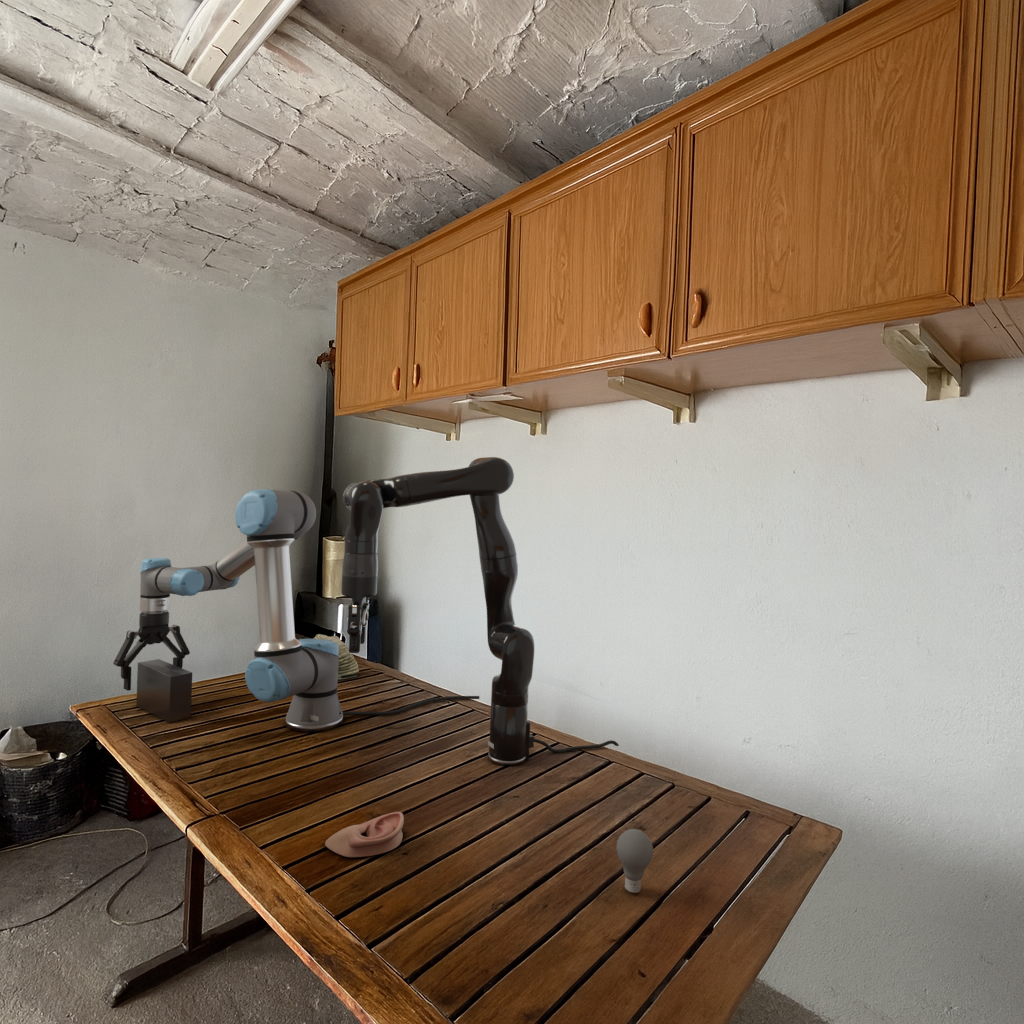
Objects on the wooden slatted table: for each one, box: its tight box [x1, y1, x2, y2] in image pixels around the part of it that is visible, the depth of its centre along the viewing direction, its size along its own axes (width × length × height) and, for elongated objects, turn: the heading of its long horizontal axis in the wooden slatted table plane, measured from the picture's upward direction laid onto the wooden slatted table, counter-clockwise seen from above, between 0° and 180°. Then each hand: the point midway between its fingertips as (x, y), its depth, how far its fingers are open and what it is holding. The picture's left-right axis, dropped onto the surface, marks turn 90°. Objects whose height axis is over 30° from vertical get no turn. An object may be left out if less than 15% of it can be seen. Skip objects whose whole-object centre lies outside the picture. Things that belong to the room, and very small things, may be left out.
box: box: [135, 658, 193, 724], centre depth 180 cm, size 20×6×13 cm, turn 53°
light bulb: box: [615, 828, 654, 894], centre depth 106 cm, size 6×6×10 cm
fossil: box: [312, 633, 360, 681], centre depth 220 cm, size 9×18×15 cm, turn 132°
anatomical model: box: [324, 811, 405, 858], centre depth 117 cm, size 13×4×12 cm
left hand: (152, 684), depth 184 cm, fingers open, 13 cm apart
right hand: (357, 647), depth 137 cm, fingers open, 8 cm apart
